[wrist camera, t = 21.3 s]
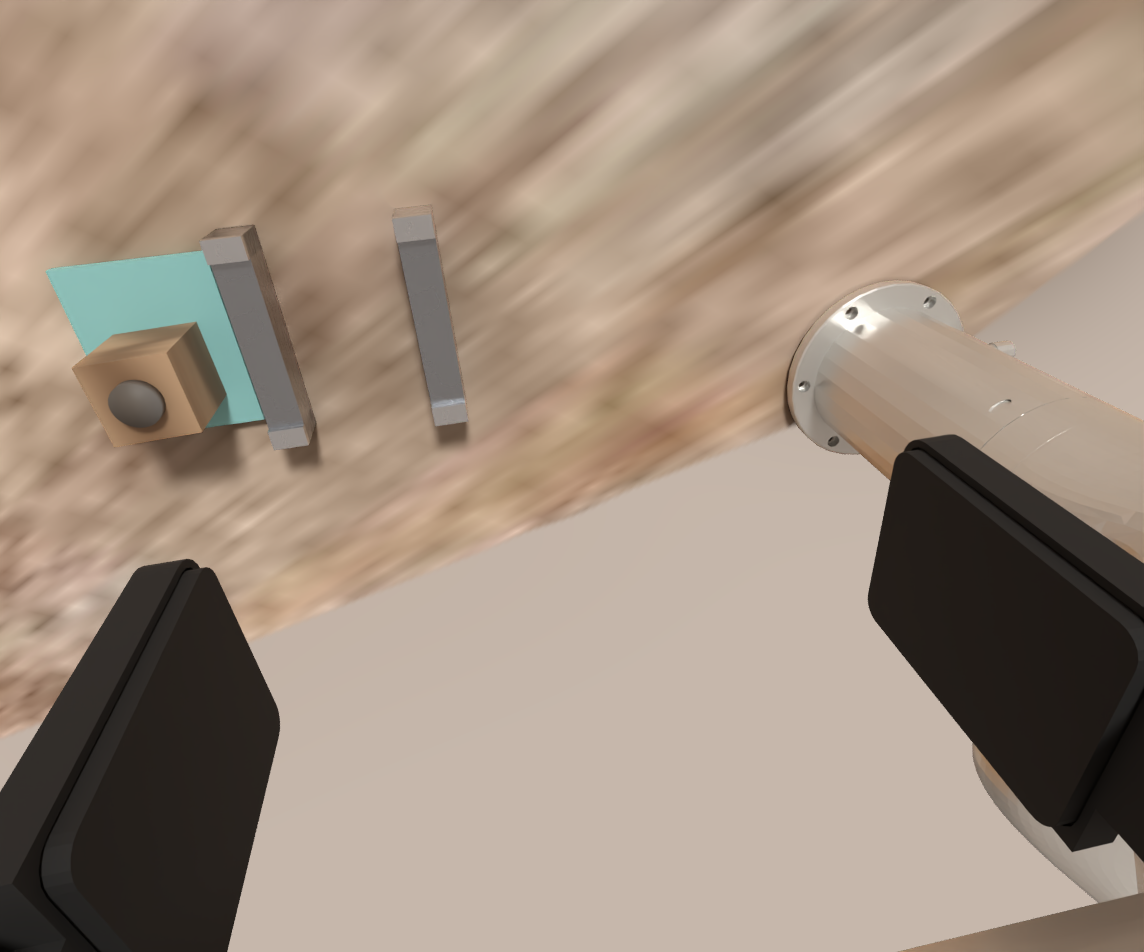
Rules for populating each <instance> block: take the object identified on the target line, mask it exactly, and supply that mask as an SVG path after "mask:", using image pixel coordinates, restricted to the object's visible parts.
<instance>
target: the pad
mask: <svg viewBox="0 0 1144 952" xmlns="http://www.w3.org/2000/svg"><path fill="white" fill-rule="evenodd" d="M46 273H47V275H48V278H49V280H50V282H51V284H52V286H53V288H54V290H55V292H56V294H57V296H58V298H59V300H60V302H61V304H62V306H63V308H64V310H65V313H66V315H67V317H68V319H69V321H70V323H71V325H72V327H73V329H74V331H75V333H76V335H77V337H78V339H79V341H80V343H81V346H82V348H83V350H84V352H85V354H86V356H87V355H88V354H90V353H91V352H92V351H93V350H95V349H96V348H97V347H98V346H99V345H101V344H102V343H103V342H104V341H106V340H107V339H108V338H109V337H111V336H112V335H114V334H121V333H127V332H133V331H140V330H146V329H152V328H159V327H165V326H171V325H178V324H184V323H190V322H197V324H198V326H199V329H200V331H201V334H202V336H203V338H204V341H205V343H206V346H207V348H208V350H209V353H210V355H211V358H212V360H213V362H214V365H215V367H216V369H217V372H218V374H219V377H220V379H221V381H222V384H223V386H224V389H225V391H226V393H227V395H226V397H225V398H224V400H223V401H222V403H221V404H220V406H219V407H218V409H217V411H216V412H215V414H214V415H213V417H212V418H211V420H210V421H209V423H208V424H207V426H206V427H205V428H209V427H215V426H222V425H229V424H236V423H243V422H250V421H257V420H264V419H265V416H264V414H263V411H262V408H261V405H260V402H259V400H258V397H257V394H256V391H255V388H254V386H253V383H252V380H251V377H250V374H249V372H248V369H247V366H246V363H245V360H244V357H243V355H242V352H241V349H240V346H239V343H238V341H237V338H236V335H235V332H234V329H233V327H232V324H231V321H230V318H229V315H228V313H227V310H226V307H225V304H224V301H223V299H222V296H221V293H220V290H219V287H218V285H217V282H216V279H215V276H214V273H213V270H212V268H211V265H207V262H206V259H205V256H204V253H203V251H196V252H187V253H179V254H170V255H162V256H153V257H144V258H136V259H127V260H119V261H110V262H102V263H93V264H85V265H76V266H68V267H59V268H51V269H49V270H47V271H46Z"/></svg>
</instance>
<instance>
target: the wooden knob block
mask: <svg viewBox="0 0 1144 952" xmlns="http://www.w3.org/2000/svg"><path fill="white" fill-rule="evenodd" d="M72 370H73V372H74V374H75V375H76V377H77V379H78V381H79V383H80V385H81V387H82V388H83V390H84V392H85V394H86V396H87V398H88V400H89V401H90V403H91V405H92V407H93V409H94V411H95V413H96V414H97V416H98V418H99V420H100V422H101V424H102V425H103V427H104V429H105V431H106V433H107V435H108V437H109V438H110V440H111V442H112V444H113V446H114V447H120V446H126V445H131V444H137V443H143V442H149V441H155V440H161V439H166V438H172V437H178V436H184V435H190V434H195V433H201V432H203V430H204V429H205V427H206V426H207V424H208V423H209V421H210V420H211V418H212V417H213V415H214V414H215V412H216V411H217V409H218V407H219V406H220V404H221V403H222V401H223V400H224V398H225V397H226V395H227V393H226V391H225V389H224V386H223V384H222V381H221V379H220V377H219V374H218V372H217V369H216V367H215V365H214V362H213V360H212V358H211V355H210V353H209V350H208V348H207V346H206V343H205V341H204V338H203V336H202V334H201V331H200V329H199V326H198V324H197V322H190V323H184V324H178V325H171V326H165V327H159V328H152V329H146V330H140V331H133V332H127V333H121V334H114V335H112V336H111V337H109V338H108V339H107V340H106V341H104V342H103V343H102V344H101V345H99V346H98V347H97V348H96V349H95V350H93V351H92V352H91V353H90V354H88V355H87V356H86V357H85V358H83V359H82V360H81V361H80V362H78V363H77V364H76V365H75V366H74V367H72Z"/></svg>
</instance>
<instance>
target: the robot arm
mask: <svg viewBox="0 0 1144 952" xmlns="http://www.w3.org/2000/svg"><path fill="white" fill-rule="evenodd" d="M1015 354H1016V348H1015V345H1014V343H1012V342H1011V341H1001V342H995V343H989V344H987V343H985V342H983V341H981V340H979V339H977V338H974V337H972V336H970V335H968V334H966V333H964V329H963V325H962V322H961V319H960V316H959V313H958V312H957V310H956V309H955V307H954V306H953V304H952V303H951V302H950V301H949V300H948V299H947V298H946V297H945V296H943V295H942V294H941V293H940V292H938V291H936V290H934V289H932V288H930V287H927V286H925V285H922V284H919V283H916V282H913V281H902V280H892V281H885V282H878V283H875V284H872V285H869V286H866V287H863V288H860V289H859V290H857V291H855V292H853V293H851V294H849V295H847V296H845V297H844V298H842V299H841V300H840V301H838V302H837V303H836V304H834V305H833V306H832V307H830V308H829V309H828V310H827V311H826V312H825V313H824V314H823V315H822V316H821V317H820V318H819V319H818V320H817V321H816V322H815V323H814V324H813V326H812V327H811V328H810V330H809V331H808V333H807V334H806V335H805V337H804V338H803V340H802V342H801V344H800V346H799V348H798V349H797V351H796V353H795V356H794V359H793V362H792V365H791V368H790V371H789V377H788V384H787V395H788V404H789V408H790V411H791V415H792V417H793V419H794V421H795V422H796V424H797V426H798V428H799V429H800V430H801V431H802V432H803V433H804V434H805V435H806V436H807V437H808V438H809V439H810V440H811V441H813V442H814V443H815V444H816V445H818V446H820V447H822V448H824V449H826V450H828V451H832V452H836V453H841V454H861V455H862V456H863V457H864V458H866V459H867V460H868V461H869V462H870V463H871V464H872V465H873V466H874V467H875V468H877V469H878V470H879V471H880V472H881V473H882V474H883V475H884V476H886V477H887V478H888V479H889V480H890V485H889V491H888V496H887V501H886V506H885V511H884V516H883V521H882V526H881V531H880V536H879V542H878V547H877V552H876V557H875V562H874V568H873V572H872V577H871V583H870V588H869V593H868V605H869V609H870V611H871V614H872V616H873V618H874V620H875V621H876V622H877V624H878V625H879V626H880V627H881V629H882V630H883V631H884V632H885V634H886V635H887V636H888V637H889V639H890V640H891V641H892V642H893V644H894V645H895V646H896V647H897V649H898V650H899V651H900V652H901V654H902V655H903V656H904V657H905V659H906V660H907V661H908V662H909V664H910V665H911V666H912V667H913V668H914V670H915V671H916V672H917V673H918V675H919V676H920V677H921V679H922V680H923V681H924V682H925V683H926V685H927V686H928V687H929V689H930V690H931V691H932V692H933V693H934V695H935V696H936V697H937V698H938V700H939V701H940V702H941V704H943V706H944V707H945V708H946V710H947V711H948V712H949V714H950V715H951V716H952V717H953V719H954V720H955V721H956V722H957V723H958V725H959V726H960V727H961V729H962V730H963V731H964V732H965V733H966V735H967V736H968V737H969V738H970V740H971V741H972V742H973V744H972V749H973V760H974V764H975V768H976V771H977V774H978V776H979V778H980V780H981V782H982V784H983V786H984V788H985V790H986V791H987V793H988V795H989V796H990V797H991V799H992V800H993V802H994V803H995V805H996V806H997V807H998V808H999V810H1000V811H1001V812H1002V813H1003V815H1004V816H1005V817H1006V818H1007V819H1008V820H1009V821H1010V823H1011V824H1012V825H1013V826H1014V827H1015V828H1016V829H1017V830H1018V831H1019V832H1020V833H1021V834H1022V835H1023V836H1024V837H1025V838H1026V839H1027V840H1028V841H1029V842H1030V843H1031V844H1032V845H1033V846H1034V847H1035V848H1036V849H1037V850H1038V851H1039V852H1040V853H1041V854H1042V855H1044V857H1045V858H1047V859H1048V860H1049V861H1050V862H1051V863H1052V864H1053V865H1054V866H1055V867H1057V868H1058V869H1059V870H1060V871H1061V872H1062V873H1064V874H1065V875H1066V876H1067V877H1068V878H1069V879H1071V880H1072V881H1073V882H1074V883H1075V884H1077V885H1078V886H1079V887H1080V888H1081V889H1083V890H1084V891H1085V892H1086V893H1087V894H1088V895H1089V896H1091V897H1092V898H1093V899H1094V900H1096V901H1097V902H1098V904H1093V905H1089V906H1085V907H1081V908H1077V909H1073V910H1068V911H1064V912H1060V913H1056V914H1052V915H1048V916H1043V917H1040V918H1035V919H1031V920H1027V921H1023V922H1019V923H1015V924H1010V925H1006V926H1002V927H998V928H994V929H990V930H986V931H981V932H977V933H973V934H969V935H965V936H960V937H957V938H952V939H949V940H944V941H940V942H936V943H932V944H927V945H923V946H919V947H915V948H911V949H907V950H903V951H899V952H1144V421H1143V420H1141V419H1139V418H1137V417H1135V416H1133V415H1131V414H1129V413H1127V412H1124V411H1122V410H1120V409H1118V408H1116V407H1114V406H1112V405H1110V404H1108V403H1106V402H1104V401H1101V400H1100V399H1098V398H1096V397H1093V396H1091V395H1089V394H1087V393H1085V392H1083V391H1081V390H1079V389H1077V388H1075V387H1073V386H1071V385H1069V384H1067V383H1065V382H1063V381H1061V380H1059V379H1057V378H1055V377H1053V376H1051V375H1049V374H1047V373H1045V372H1043V371H1041V370H1038V369H1036V368H1034V367H1032V366H1030V365H1028V364H1026V363H1024V362H1022V361H1020V360H1018V359H1016V358H1014V356H1015ZM279 732H280V718H279V712H278V708H277V706H276V703H275V701H274V699H273V697H272V695H271V692H270V690H269V688H268V686H267V684H266V682H265V680H264V677H263V675H262V673H261V671H260V669H259V667H258V665H257V662H256V660H255V658H254V656H253V654H252V652H251V650H250V647H249V645H248V643H247V641H246V639H245V637H244V634H243V632H242V630H241V628H240V626H239V624H238V621H237V619H236V617H235V615H234V613H233V611H232V609H231V606H230V604H229V602H228V600H227V598H226V596H225V593H224V591H223V589H222V587H221V585H220V583H219V581H218V578H217V576H216V575H215V573H214V571H213V570H212V569H210V568H207V567H205V568H200V567H199V566H198V564H197V563H195V562H194V561H193V560H190V559H184V560H178V561H172V562H166V563H160V564H154V565H147V566H143V567H140V568H138V569H137V570H136V571H135V572H134V573H133V575H132V577H131V578H130V580H129V582H128V583H127V585H126V587H125V588H124V590H123V592H122V593H121V595H120V596H119V598H118V600H117V601H116V603H115V605H114V606H113V608H112V610H111V611H110V613H109V614H108V616H107V618H106V619H105V621H104V623H103V624H102V626H101V628H100V629H99V631H98V633H97V634H96V636H95V637H94V639H93V641H92V642H91V644H90V646H89V647H88V649H87V651H86V652H85V654H84V656H83V657H82V659H81V660H80V662H79V664H78V665H77V667H76V669H75V670H74V672H73V674H72V675H71V677H70V678H69V680H68V682H67V683H66V685H65V687H64V688H63V690H62V692H61V693H60V695H59V697H58V698H57V700H56V701H55V703H54V705H53V706H52V708H51V710H50V711H49V713H48V715H47V716H46V718H45V720H44V721H43V723H42V724H41V726H40V728H39V729H38V731H37V733H36V734H35V736H34V738H33V739H32V741H31V743H30V744H29V746H28V747H27V749H26V751H25V752H24V754H23V756H22V757H21V759H20V761H19V762H18V764H17V766H16V767H15V769H14V771H13V772H12V774H11V775H10V777H9V779H8V780H7V782H6V784H5V785H4V787H3V788H2V790H1V792H0V952H227V950H228V945H229V941H230V937H231V933H232V929H233V925H234V921H235V917H236V913H237V908H238V904H239V900H240V896H241V892H242V888H243V883H244V879H245V875H246V870H247V866H248V862H249V858H250V854H251V850H252V845H253V842H254V837H255V833H256V829H257V824H258V821H259V816H260V812H261V808H262V804H263V800H264V796H265V791H266V787H267V783H268V779H269V775H270V770H271V766H272V762H273V758H274V754H275V750H276V746H277V741H278V737H279Z"/></svg>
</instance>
